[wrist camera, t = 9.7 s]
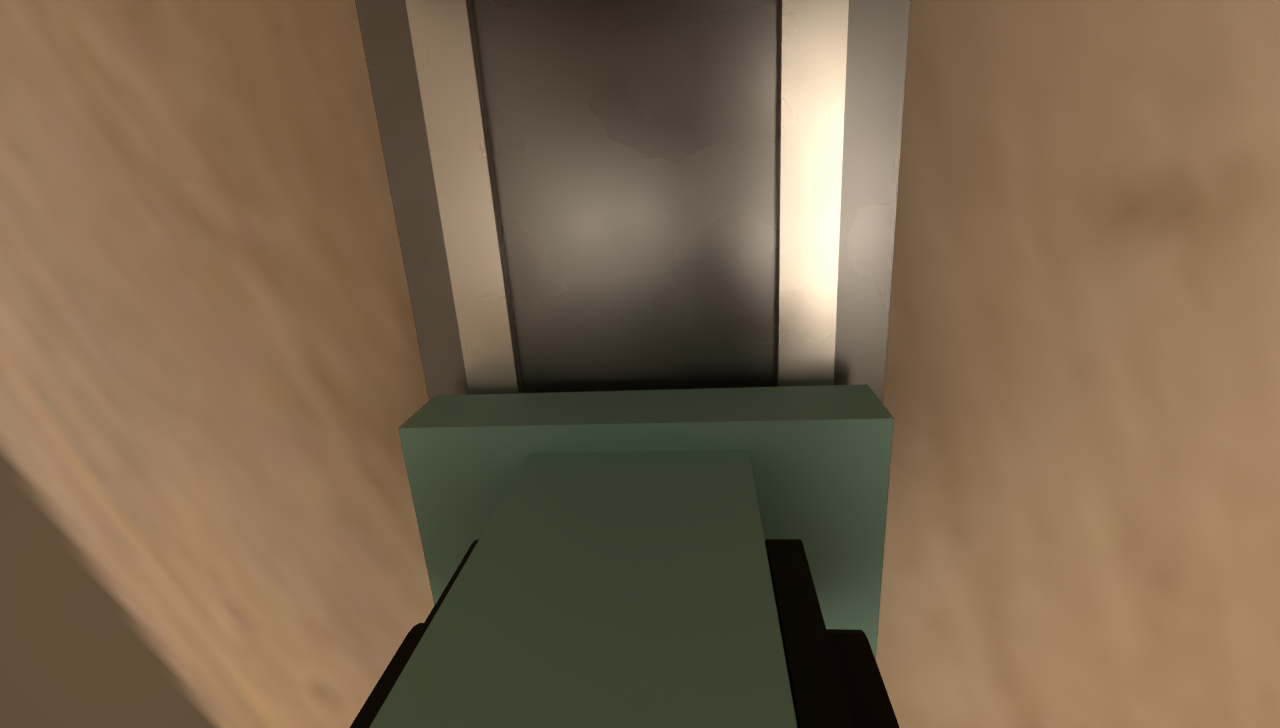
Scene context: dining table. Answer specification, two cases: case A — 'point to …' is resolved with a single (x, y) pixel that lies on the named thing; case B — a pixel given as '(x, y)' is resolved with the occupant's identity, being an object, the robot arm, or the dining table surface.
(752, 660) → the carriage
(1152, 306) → the dining table surface
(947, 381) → the dining table surface
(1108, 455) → the dining table surface
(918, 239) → the dining table surface
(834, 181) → the rail track
